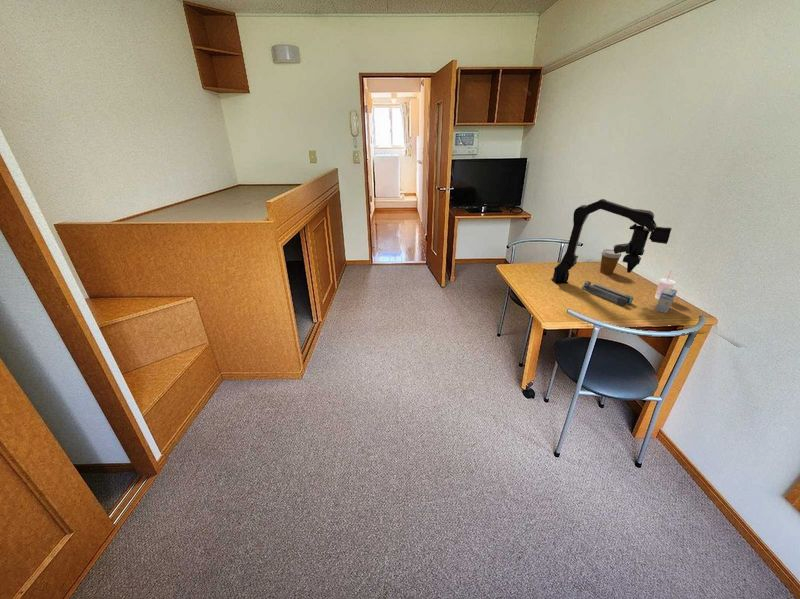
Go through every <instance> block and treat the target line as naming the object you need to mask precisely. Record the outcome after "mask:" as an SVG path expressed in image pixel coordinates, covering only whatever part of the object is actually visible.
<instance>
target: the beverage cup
mask: <svg viewBox="0 0 800 599" xmlns="http://www.w3.org/2000/svg"><path fill="white" fill-rule="evenodd" d="M668 273H669V274H668V275H667V278H665V277H664V278H662V277H661V278H659V279H658V285H657V287H656V292H655V296H654V298H655V299H657V300H659V298H660V295H661V293H662V292H663V290H664V289H665V288H670V289H673V287H674V285H675V284H676V281H675V280H673V279H670V276H671V273H672V270H670V271H669V272H668Z"/></svg>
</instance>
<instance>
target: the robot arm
mask: <svg viewBox="0 0 800 599" xmlns="http://www.w3.org/2000/svg"><path fill="white" fill-rule="evenodd" d="M599 210H602V211H605V212H608V213H611V214H615V215H618V216H621V217H624V218H627V219H629V220H630V221H631V222H633V223H634V224H633V225H630V226H629V228H628V229H629V230H633V233H632V235H631V239H630V240H629V242H627V243H626V242H625V243H619V244H615V245H614V246H613V250H614V253H615V254H617V253H621V254H622V253H625V255H623V258H622V261H621V262H622V263H626V272H627V273H628V274H631V272H632V271H633V270H634V269H635V268H636V267H637V265H640V263H641V259H642V257H641V256H643V255H644V253H645V246H646V243H647V241H648V240H650V241H651V242H652V243H657V244H662V245H663V244H665V245H667V244H668V242H669V238H670V236H671V235H670V234H671V231H672V227H667V226H666V227H665V226H658V225H657V223H656V221H655V219H654V218H655V214H654V212H653V211H651V210H647V209H641V208H640V209H638V208H631V207H628V206H626V205H621V204H619V203H617V202H613V201H610V200H607V199H604V198H601V199H599V200H598V201H595V202H592V203H590V204H587V205H586V204H582V205H580V206H578V207H577V208H575V209H574V212H573V215H572V216H573V218H572V221H573V222H572V224H573V227H572V229H571V234H570V236H569V240H568V244H567V249H566V251H565V254H564V255H563V257H562V259H561V261H560V263H558V264H557V265H556V266H555V267H554V271H553V276H552V277H551V280H552V282H554V283H555V284H557V285H558V284H559V285H561V284H563V285H564V284H569V282H568V281H569V278H570V270H571V269H572V268H573V267H574V266H575V265H576V264H577V262H578V261H577V260H578V258H579V255H576V251H577V247H578V244H579V240H580V237H581V234H582V231H583V227H584V224H585V222H586V221H587V219H588V217H589V215H590V214H592V213H594V212H596V211H599ZM648 237H649V238H648Z"/></svg>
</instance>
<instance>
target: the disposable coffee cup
mask: <svg viewBox="0 0 800 599" xmlns="http://www.w3.org/2000/svg"><path fill="white" fill-rule="evenodd" d="M600 254H601V258H600V260H601V261H600V268H599V272H600V273H601V274H604V275H612V274H614V271H615V269H616V267H617V264H618V262H619V260H620V258H621V257H622V253H617V254H615V253H614V249H607V248H606V249H603V250H602V251H601V253H600Z"/></svg>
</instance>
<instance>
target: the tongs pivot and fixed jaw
mask: <svg viewBox="0 0 800 599" xmlns="http://www.w3.org/2000/svg"><path fill="white" fill-rule="evenodd" d="M581 289H582V290H584V291H587V293H590V294H593V295H595V296H597V297H600V298H601V299H604V300H606V301H609V302H611V303H614V304H616V305H618V306H620V307H625V306H627V305H628V304H627V302H628V299H627V298H625V297H620V296H618V295H615V294H613V293H610V292H608V291H605V290H603V289H600V288H598V287H595V286H593V284H592V282H591V281H589V280H586V281H584V284H583V285H582V286H581Z"/></svg>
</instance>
